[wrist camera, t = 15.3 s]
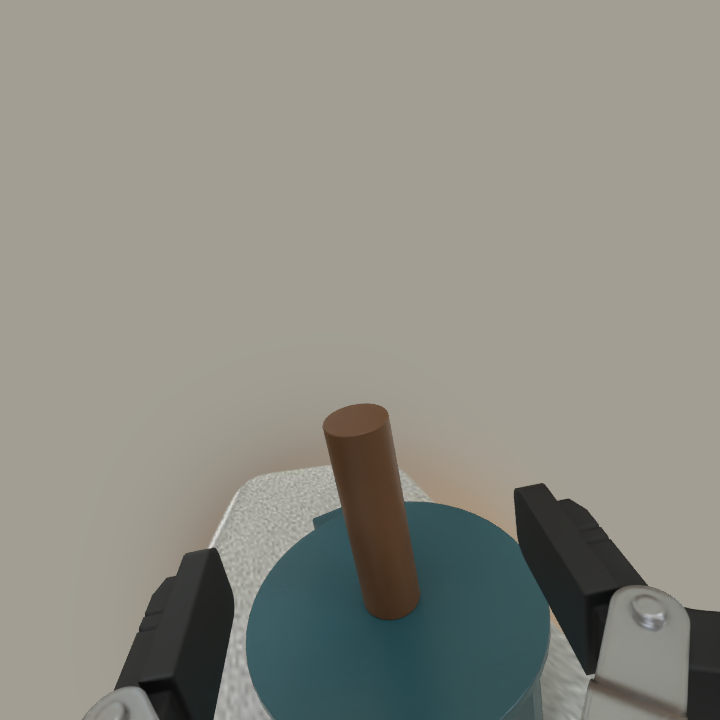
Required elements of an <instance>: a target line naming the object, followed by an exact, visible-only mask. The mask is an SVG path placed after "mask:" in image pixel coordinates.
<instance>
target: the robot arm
mask: <svg viewBox="0 0 720 720" xmlns="http://www.w3.org/2000/svg"><path fill="white" fill-rule="evenodd" d="M514 503H515V515H516V525H517V526H516V527H517V536H518V542H519V546H520V549H521V552H522V555H523V557H524V559H525V561H526V563H527V565H528V567H529V569H530V571H531V572H532V574H533V576H534V578H535V580H536V582H537V584H538V585H539V587H540V589H541V591H542V593H543V595H544V597H545V599H546V600H547V602H548V604H549V606H550V608H551V610H552V612H553V613H554V615H555V617H556V619H557V621H558V622H559V625H560V626H561V628H562V630H563V632H564V634H565V636H566V638H567V640H568V641H569V643H570V645H571V647H572V649H573V651H574V653H575V655H576V656H577V658H578V660H579V662H580V664H581V666H582V668H583V669H584V671H585V673H586V675H590V674H595V673H596V674H595V678H594V680H593V679H591V680H590V682H589V685H588V688H587V693H586V697H585V702H584V707H583V712H582V716H581V720H720V612H716V611H704V610H695V609H690V608H686V607H683V606H682V605H681V604H680V603H679V602H678V601H677V600H676V599H675V598H673V597H672V596H671V595H669V594H667V593H666V592H664V591H661V590H659V589H656V588H653V587H649V586H648V585H647V584H646V583H645V581H644V580H643V579H642V578H641V576H640V575H639V574H638V573H637V571H636V570H635V569H634V568H633V566H632V565H631V564H630V563H629V561H627V559H626V558H625V556H624V555H623V554H622V553H621V552H620V550H619V549H618V548H617V547H616V545H615V544H614V543H613V542H612V540H611V539H609V538H608V536H607V534H606V533H605V532H604V530H603V529H602V528H601V527H599V524H598V523H597V522H596V520H595V519H594V518H593V517H592V516H591V514H590V513H589V512H588V510H587V509H585V508H583V507H582V506H580V505H579V504H577V503H575V502H574V501H572V500H570V499H564V500H560V501H557V500H556V499H555V498H554V496H553V495H552V493H551V492H550V491H549V489H548V488H547V487H546V485H545V484H543V483H540V484H536V485H530V486H525V487H521V488H515V490H514ZM233 618H234V597H233V592H232V589H231V586H230V583H229V581H228V578H227V575H226V572H225V569H224V567H223V564H222V561H221V558H220V555H219V553H218V551H217V549H216V548H210V549H205V550H200V551H195V552H190V553H186V554H185V555H184V557H183V559H182V562H181V564H180V567H179V570H178V573H177V575H176V576H174V577H169V578H166V579H165V581H164V582H163V583H162V584H161V585H160V587H159V588H158V589H157V590H156V592H155V593H154V594H153V595H152V597H151V600H150V602H149V605H148V607H147V610H146V612H145V617H144V618H143V620H142V622H141V625H140V627H139V633H137V635H136V637H135V639H134V642H133V645H132V647H131V649H130V652H129V654H128V657H127V659H126V662H125V664H124V667H123V669H122V672H121V674H120V676H119V679H118V682H117V684H116V686H115V689H114V691H113V692H111V693H109V694H108V695H106V696H104V697H103V698H102V699H100V700H99V701H98V702H97V703H96V704H95V705H94V706H93V707H92V708H91V709H90V710H89V711H88V712H87V714H86V715H85V716H84V718H83V719H82V720H213V719H214V714H215V709H216V704H217V698H218V693H219V688H220V683H221V678H222V673H223V668H224V663H225V658H226V653H227V648H228V643H229V638H230V633H231V628H232V623H233Z"/></svg>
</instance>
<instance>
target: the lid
mask: <svg viewBox="0 0 720 720" xmlns="http://www.w3.org/2000/svg"><path fill="white" fill-rule="evenodd" d="M323 430H324V435H325V438H326V443H327V448H328V452H329V456H330V460H331V465H332V469H333V473H334V477H335V482H336V486H337V490H338V494H339V499H340V503H341V507H342V511H343V515H342V516H340V517H338V518H336V519H333V520H331V521H329V522H327V523H325V524H324V525H322V526H320V527H318V528H317V529H315V530H314V531H312V532H311V533H309V534H308V535H306V536H305V537H304V538H302V539H301V540H300V541H299V542H297V543H296V544H295V545H294V546H293V547H291V548H290V549H289V550H288V551H287V552H286V553H285V554H284V556H283V557H282V558H281V559H280V560H279V561H278V562H277V563H276V565H275V566H274V567H273V568H272V570H271V571H270V572H269V574H268V576H267V577H266V579H265V580H264V582H263V584H262V585H261V587H260V589H259V591H258V594H257V596H256V598H255V600H254V603H253V606H252V609H251V612H250V615H249V621H248V626H247V632H246V656H247V664H248V669H249V672H250V676H251V679H252V683H253V686H254V688H255V691H256V693H257V695H258V697H259V699H260V701H261V703H262V705H263V707H264V709H265V710H266V712H267V713H268V715H269V716H270V717H271V719H272V720H511V719H512V718H513V717H514V716H515V715H516V714H517V713H518V712H519V711H520V709H521V708H522V706H523V705H524V704H525V702H526V701H527V700H528V698H529V697H530V696H531V694H532V692H533V690H534V688H535V686H536V684H537V682H538V680H539V678H540V677H541V674H542V671H543V668H544V665H545V662H546V659H547V655H548V649H549V642H550V610H549V604H548V602H547V600H546V599H545V597H544V595H543V593H542V591H541V589H540V587H539V585H538V584H537V582H536V580H535V578H534V576H533V574H532V572H531V571H530V569H529V567H528V565H527V563H526V561H525V559H524V557H523V555H522V552H521V549H520V546H519V544H518V543H517V542H516V541H515V540H514V539H513V538H512V537H510V536H509V535H508V534H507V533H506V532H504V531H503V530H502V529H501V528H499V527H497V526H496V525H494V524H493V523H491V522H489V521H488V520H486V519H484V518H482V517H480V516H477V515H475V514H473V513H471V512H468V511H465V510H462V509H459V508H455V507H451V506H447V505H442V504H436V503H429V502H404V499H403V493H402V487H401V482H400V476H399V471H398V465H397V460H396V454H395V449H394V443H393V437H392V432H391V426H390V421H389V415H388V412H387V410H386V409H385V408H383V407H381V406H379V405H375V404H356V405H351V406H347V407H344V408H341V409H339V410H337V411H335V412H333V413H332V414H330V415H329V416H328V417H327V418H326V419H325V420H324V423H323Z"/></svg>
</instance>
